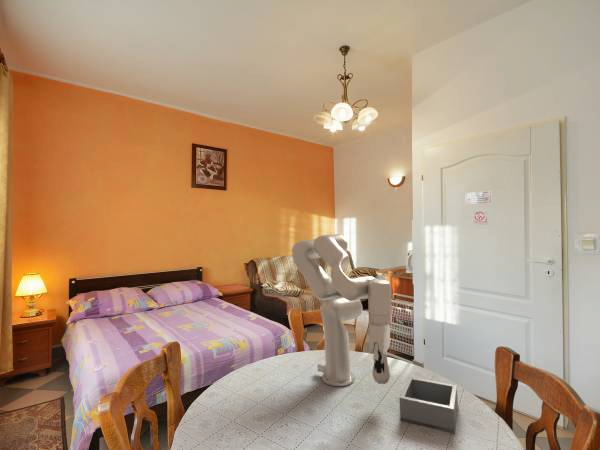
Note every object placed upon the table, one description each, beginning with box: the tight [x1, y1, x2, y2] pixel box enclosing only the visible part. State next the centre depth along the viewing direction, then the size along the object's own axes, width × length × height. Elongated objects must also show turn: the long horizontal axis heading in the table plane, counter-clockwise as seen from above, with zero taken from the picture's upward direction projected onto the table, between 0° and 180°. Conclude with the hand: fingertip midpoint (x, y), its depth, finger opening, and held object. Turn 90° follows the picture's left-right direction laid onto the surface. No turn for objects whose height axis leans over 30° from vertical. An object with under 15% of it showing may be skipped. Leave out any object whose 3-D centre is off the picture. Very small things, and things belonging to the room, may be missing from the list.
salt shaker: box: [371, 352, 391, 385], centre depth 108 cm, size 6×6×13 cm
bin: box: [399, 376, 459, 435], centre depth 102 cm, size 15×15×7 cm
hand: (381, 371), depth 108 cm, fingers closed on salt shaker, 3 cm apart
